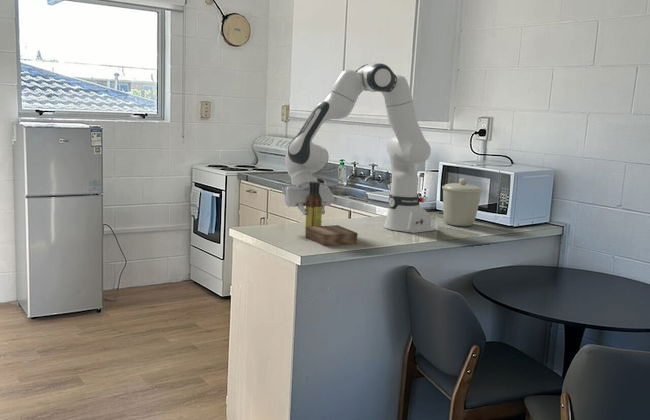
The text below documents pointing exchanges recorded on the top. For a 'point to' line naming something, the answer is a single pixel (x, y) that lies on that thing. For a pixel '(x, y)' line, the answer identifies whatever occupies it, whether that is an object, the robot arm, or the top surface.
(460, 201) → the canister
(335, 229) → the block
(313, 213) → the sauce bottle
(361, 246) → the top surface
